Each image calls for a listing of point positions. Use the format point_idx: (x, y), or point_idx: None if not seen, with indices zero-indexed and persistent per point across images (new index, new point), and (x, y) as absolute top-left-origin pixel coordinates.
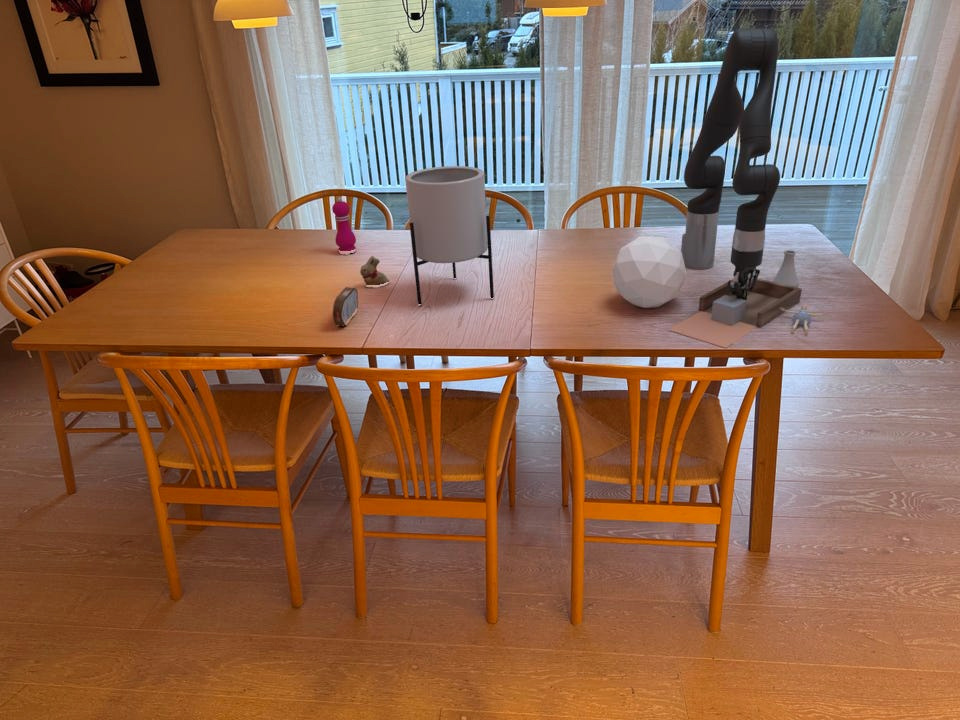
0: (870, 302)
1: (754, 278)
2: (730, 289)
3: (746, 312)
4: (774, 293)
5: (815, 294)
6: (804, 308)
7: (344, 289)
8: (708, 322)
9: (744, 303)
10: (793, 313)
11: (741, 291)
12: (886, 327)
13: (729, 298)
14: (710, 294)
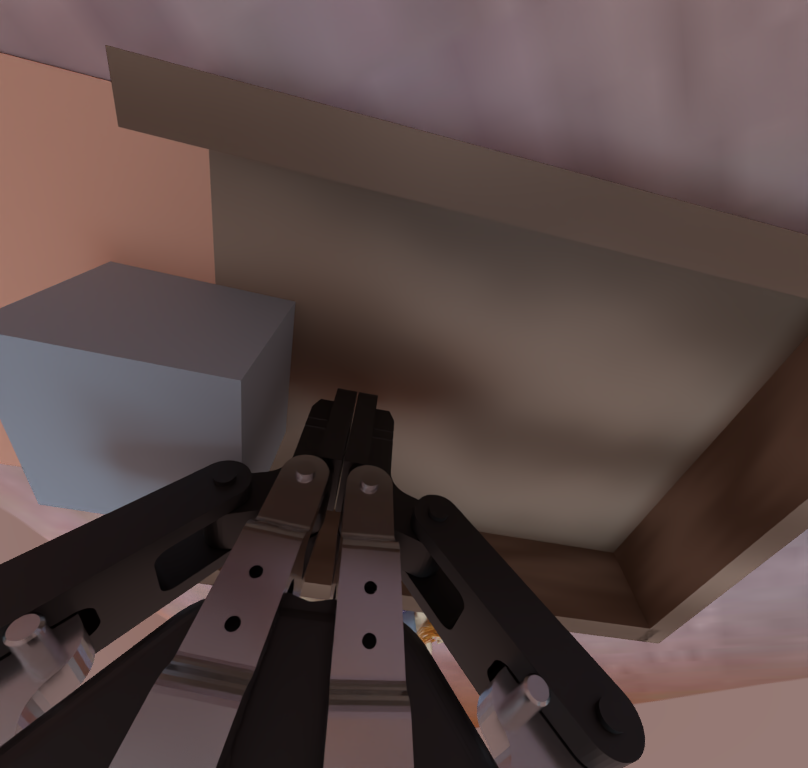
0: (659, 681)
1: (467, 671)
2: (86, 530)
3: None
4: (687, 505)
5: (736, 589)
6: (437, 640)
7: None
8: (47, 261)
9: None
10: None
11: (194, 575)
12: (463, 703)
13: (183, 434)
14: (296, 167)
